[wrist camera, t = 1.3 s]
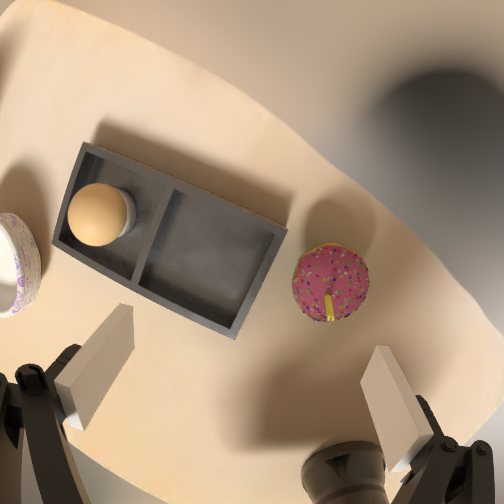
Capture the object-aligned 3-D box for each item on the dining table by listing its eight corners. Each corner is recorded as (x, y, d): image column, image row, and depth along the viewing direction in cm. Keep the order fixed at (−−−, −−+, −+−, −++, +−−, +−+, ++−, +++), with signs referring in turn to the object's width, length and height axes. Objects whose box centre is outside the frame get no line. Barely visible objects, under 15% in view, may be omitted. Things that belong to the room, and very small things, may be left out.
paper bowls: (62, 304, 39) (30, 323, 31) (6, 301, 40) (-23, 315, 32) (47, 204, 37) (11, 208, 29) (-8, 217, 38) (-40, 221, 30)
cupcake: (324, 318, 37) (345, 367, 25) (273, 276, 37) (276, 313, 25) (370, 268, 36) (411, 298, 24) (321, 222, 35) (346, 234, 23)
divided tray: (286, 227, 36) (288, 230, 32) (237, 327, 38) (234, 339, 35) (97, 145, 35) (83, 141, 31) (66, 240, 37) (51, 243, 34)
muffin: (147, 196, 35) (117, 196, 27) (127, 249, 36) (96, 262, 29) (102, 176, 35) (67, 173, 27) (85, 227, 36) (49, 234, 28)
